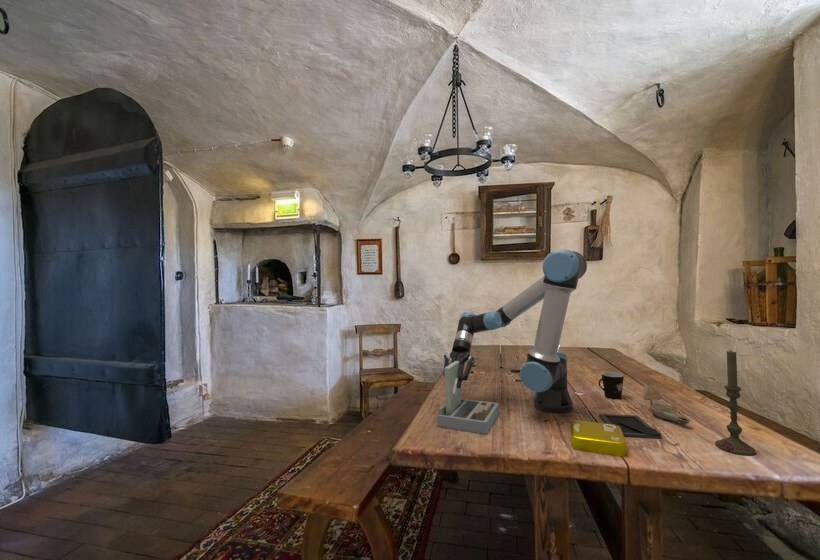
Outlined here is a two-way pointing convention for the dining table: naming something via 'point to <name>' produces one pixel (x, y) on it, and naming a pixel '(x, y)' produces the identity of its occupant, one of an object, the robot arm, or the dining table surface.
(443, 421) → the offcut rack
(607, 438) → the element tile
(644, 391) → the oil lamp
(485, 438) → the dining table surface
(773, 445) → the dining table surface
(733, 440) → the candlestick holder
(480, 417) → the pine offcut stack
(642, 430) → the picture frame
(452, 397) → the sage hardboard sheet
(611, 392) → the coffee mug
